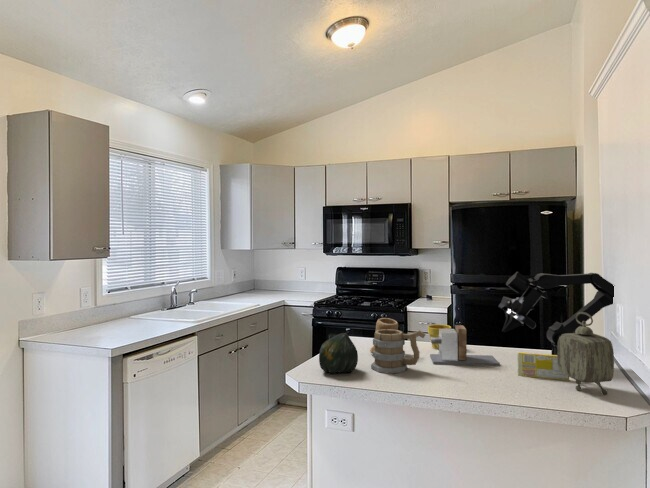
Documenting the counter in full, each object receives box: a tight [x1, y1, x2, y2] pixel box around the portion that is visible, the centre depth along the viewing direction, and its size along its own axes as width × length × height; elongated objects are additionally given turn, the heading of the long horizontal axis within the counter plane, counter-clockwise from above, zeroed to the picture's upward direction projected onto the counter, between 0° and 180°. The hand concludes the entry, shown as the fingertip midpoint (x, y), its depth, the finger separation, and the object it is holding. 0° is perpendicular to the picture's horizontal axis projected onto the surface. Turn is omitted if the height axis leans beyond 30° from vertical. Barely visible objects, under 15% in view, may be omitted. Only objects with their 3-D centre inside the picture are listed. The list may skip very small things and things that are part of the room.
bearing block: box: [438, 328, 458, 361], centre depth 180 cm, size 6×9×11 cm, turn 172°
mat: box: [429, 353, 501, 367], centre depth 180 cm, size 25×12×1 cm, turn 82°
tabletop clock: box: [557, 312, 615, 396], centre depth 143 cm, size 14×9×25 cm, turn 12°
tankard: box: [370, 329, 426, 374], centre depth 169 cm, size 20×13×15 cm, turn 70°
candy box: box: [517, 351, 570, 382], centre depth 157 cm, size 16×2×8 cm, turn 65°
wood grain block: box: [430, 324, 468, 360], centre depth 180 cm, size 13×8×12 cm, turn 82°
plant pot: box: [427, 324, 452, 350], centre depth 202 cm, size 10×10×10 cm
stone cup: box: [369, 317, 399, 354], centre depth 194 cm, size 15×12×15 cm
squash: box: [318, 332, 359, 374], centre depth 167 cm, size 14×15×15 cm
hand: (503, 331), depth 177 cm, fingers closed
